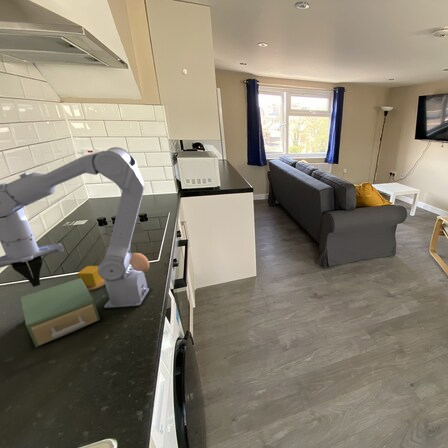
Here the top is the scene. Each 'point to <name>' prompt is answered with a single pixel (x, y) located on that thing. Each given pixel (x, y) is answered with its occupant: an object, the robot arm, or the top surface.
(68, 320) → the drawer
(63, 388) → the top surface
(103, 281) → the coaster
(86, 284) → the orange block
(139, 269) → the egg
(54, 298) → the cabinet
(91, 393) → the top surface
